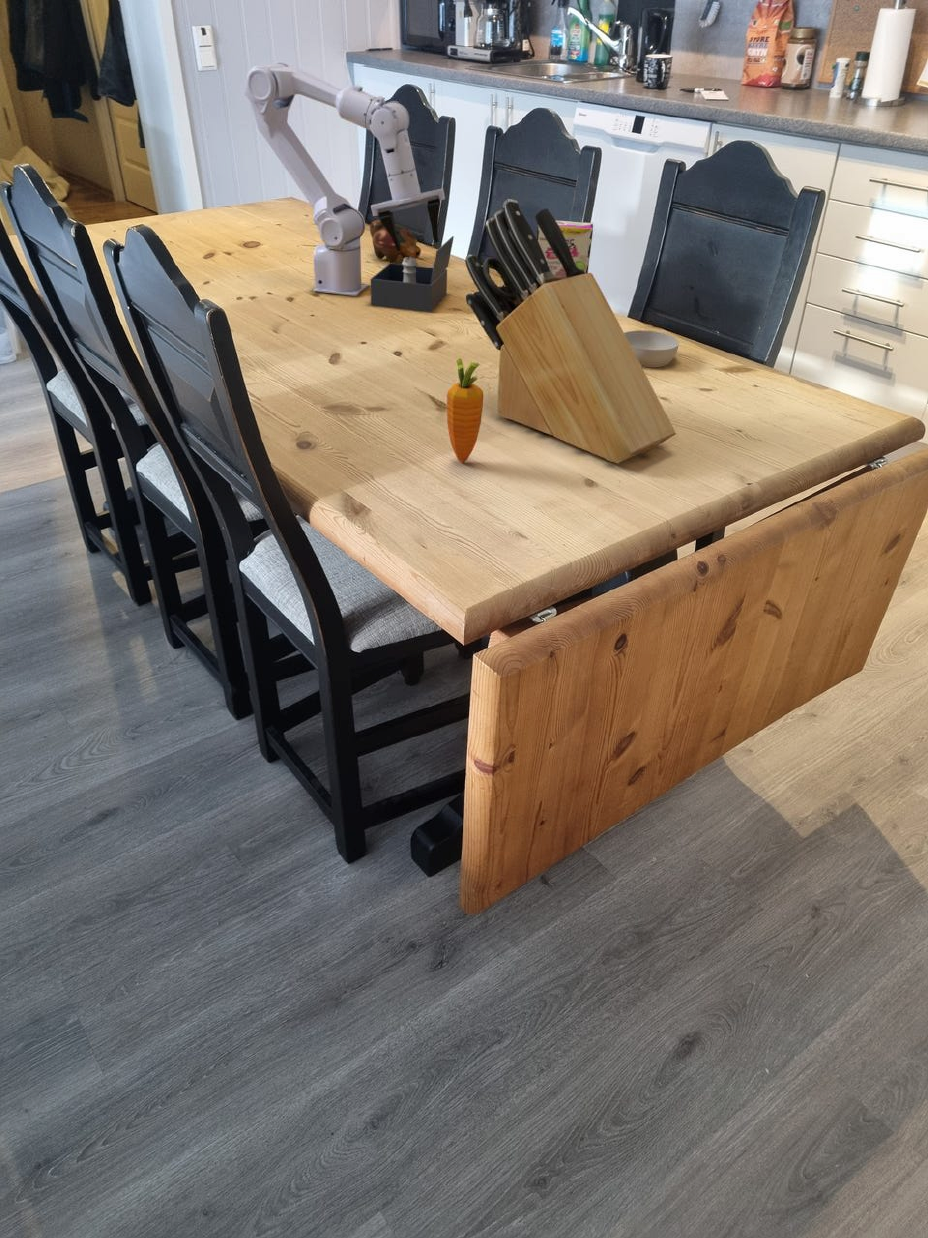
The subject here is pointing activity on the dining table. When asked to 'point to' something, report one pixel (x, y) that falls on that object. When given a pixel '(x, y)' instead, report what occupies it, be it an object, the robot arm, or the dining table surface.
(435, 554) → the dining table surface
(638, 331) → the grey bowl
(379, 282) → the carton
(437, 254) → the flap
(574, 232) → the candy bar box
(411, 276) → the rook chess piece
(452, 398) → the carrot
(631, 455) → the knife block
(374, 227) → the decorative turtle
